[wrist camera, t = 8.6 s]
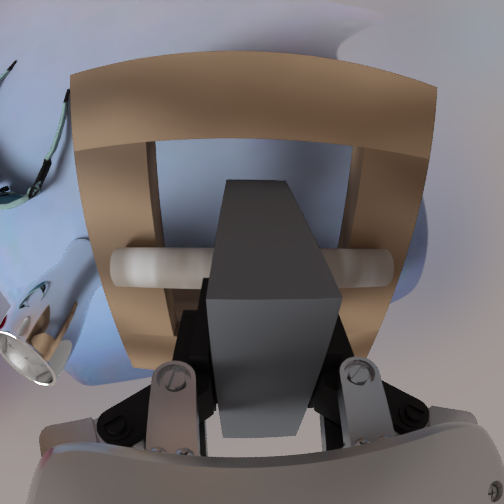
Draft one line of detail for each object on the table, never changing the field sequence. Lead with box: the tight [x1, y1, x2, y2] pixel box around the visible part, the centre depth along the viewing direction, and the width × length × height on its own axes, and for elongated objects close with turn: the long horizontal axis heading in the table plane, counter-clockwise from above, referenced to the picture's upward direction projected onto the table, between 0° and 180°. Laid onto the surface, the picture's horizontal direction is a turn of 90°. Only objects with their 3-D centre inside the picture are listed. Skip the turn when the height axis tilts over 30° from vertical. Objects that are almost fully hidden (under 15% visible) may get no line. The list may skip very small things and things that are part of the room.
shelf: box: [70, 51, 437, 370], centre depth 19 cm, size 20×18×14 cm
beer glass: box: [0, 239, 102, 386], centre depth 22 cm, size 7×7×15 cm
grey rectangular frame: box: [206, 180, 343, 438], centre depth 12 cm, size 8×3×9 cm, turn 178°
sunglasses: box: [0, 61, 70, 210], centre depth 19 cm, size 14×15×5 cm
